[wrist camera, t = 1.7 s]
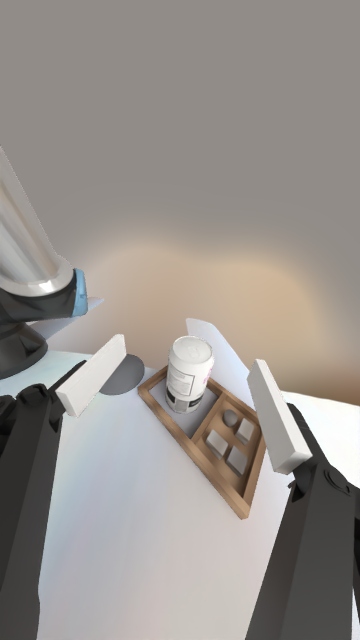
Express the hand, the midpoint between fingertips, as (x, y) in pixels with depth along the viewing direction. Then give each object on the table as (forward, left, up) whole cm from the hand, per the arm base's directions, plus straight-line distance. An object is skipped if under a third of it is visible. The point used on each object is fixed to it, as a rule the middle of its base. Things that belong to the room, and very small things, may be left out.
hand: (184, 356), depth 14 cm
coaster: (-19, +1, -21) cm, 28 cm away
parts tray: (+1, +8, -21) cm, 23 cm away
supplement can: (-4, +8, -21) cm, 23 cm away
